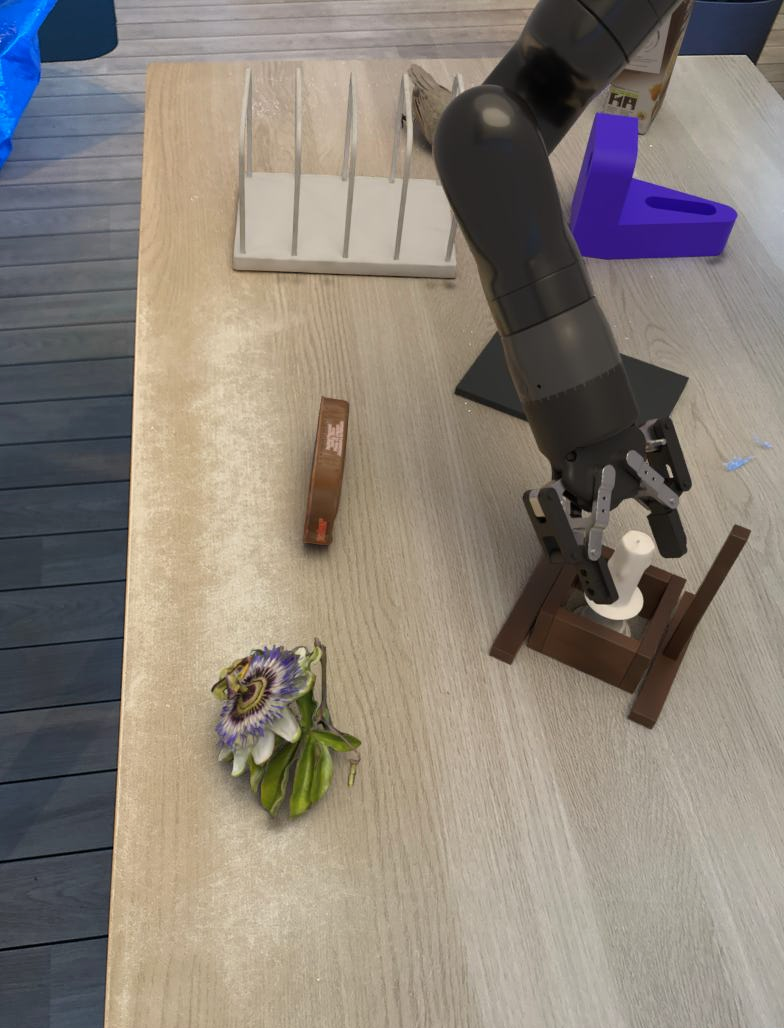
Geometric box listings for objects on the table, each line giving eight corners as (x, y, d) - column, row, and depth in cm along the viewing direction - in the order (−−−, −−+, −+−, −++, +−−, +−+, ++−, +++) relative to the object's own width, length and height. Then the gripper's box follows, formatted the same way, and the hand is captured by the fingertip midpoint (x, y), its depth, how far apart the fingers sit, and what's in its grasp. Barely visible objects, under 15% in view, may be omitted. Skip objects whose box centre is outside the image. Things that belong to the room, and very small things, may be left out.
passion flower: (240, 767, 81) (217, 630, 77) (372, 758, 80) (356, 617, 76) (215, 840, 71) (187, 686, 67) (366, 831, 69) (347, 672, 65)
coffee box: (645, 136, 131) (687, 2, 118) (599, 124, 133) (634, -10, 119) (663, 105, 136) (704, -26, 123) (617, 94, 137) (653, -37, 124)
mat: (686, 383, 102) (689, 377, 102) (643, 466, 95) (646, 460, 95) (508, 319, 108) (509, 313, 107) (454, 393, 101) (455, 387, 100)
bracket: (567, 253, 115) (594, 154, 106) (571, 202, 121) (597, 104, 112) (725, 275, 113) (767, 177, 104) (721, 223, 120) (760, 125, 110)
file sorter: (233, 272, 111) (227, 134, 99) (241, 187, 122) (237, 52, 109) (455, 279, 112) (478, 142, 99) (445, 194, 122) (465, 60, 109)
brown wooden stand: (702, 608, 85) (780, 475, 72) (651, 729, 78) (727, 606, 65) (551, 544, 89) (598, 407, 76) (488, 654, 82) (529, 524, 69)
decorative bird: (464, 185, 123) (474, 124, 117) (388, 127, 131) (394, 68, 125) (498, 173, 125) (509, 112, 119) (421, 117, 133) (428, 58, 126)
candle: (618, 666, 82) (664, 574, 72) (557, 640, 83) (594, 546, 73) (638, 621, 84) (686, 527, 74) (579, 596, 86) (618, 500, 76)
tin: (314, 444, 96) (317, 374, 89) (347, 447, 96) (352, 377, 89) (299, 563, 87) (302, 496, 80) (335, 566, 87) (340, 499, 80)
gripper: (532, 407, 66) (613, 625, 70) (674, 328, 71) (742, 535, 75) (465, 423, 72) (543, 621, 77) (599, 350, 78) (665, 539, 82)
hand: (641, 578), depth 76 cm, fingers open, 7 cm apart
